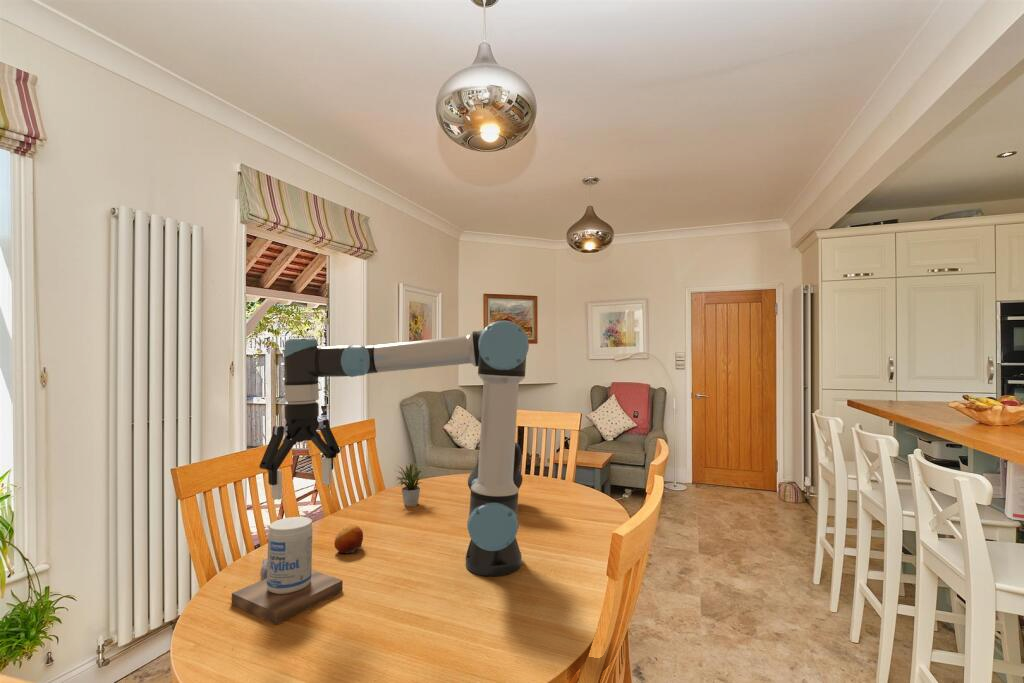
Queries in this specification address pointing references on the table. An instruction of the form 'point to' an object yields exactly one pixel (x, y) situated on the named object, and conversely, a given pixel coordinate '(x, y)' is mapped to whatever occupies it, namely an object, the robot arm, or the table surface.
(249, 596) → the walnut board
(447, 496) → the table surface
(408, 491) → the house plant
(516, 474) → the pitcher
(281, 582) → the supplement tub
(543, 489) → the table surface
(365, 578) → the table surface
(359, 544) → the fruit
